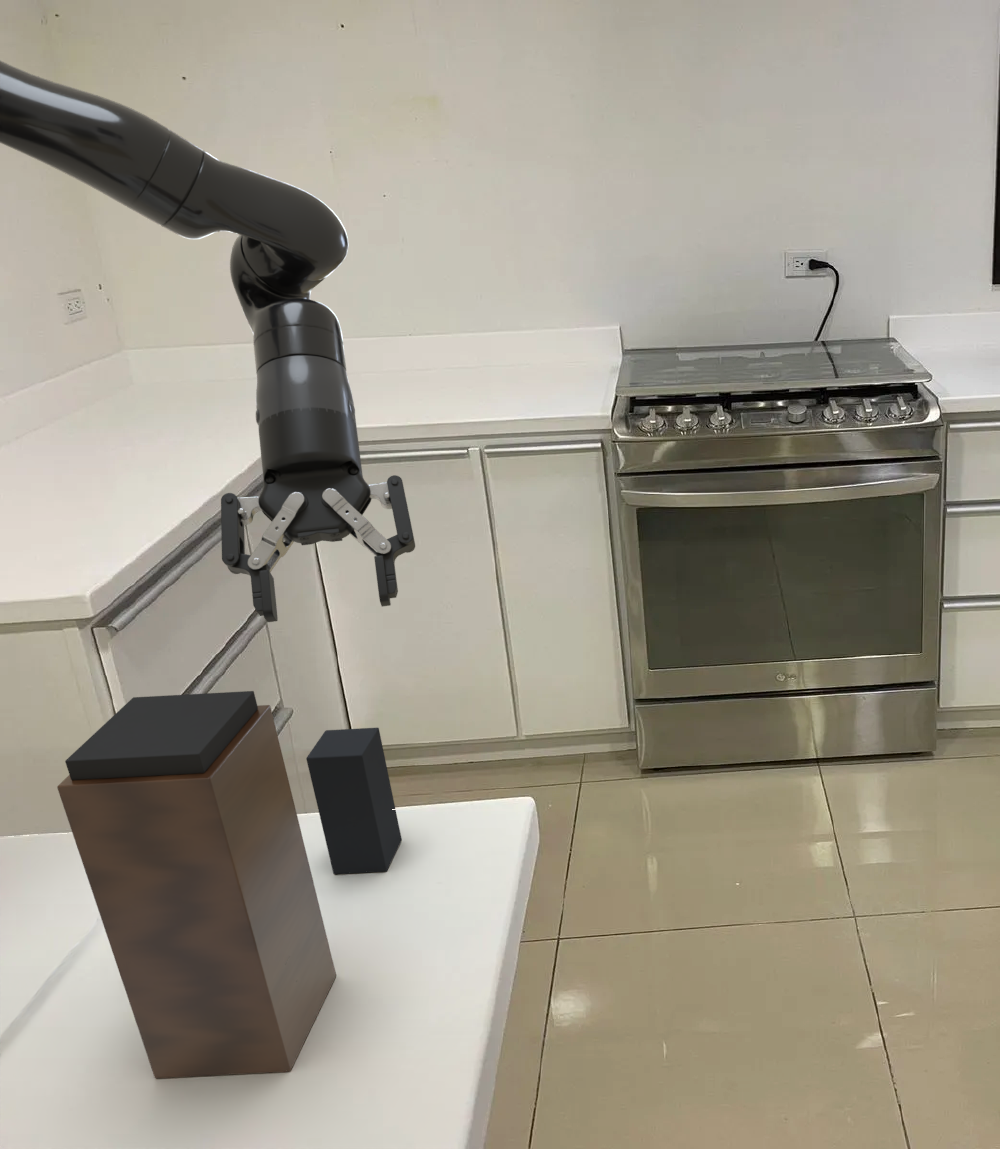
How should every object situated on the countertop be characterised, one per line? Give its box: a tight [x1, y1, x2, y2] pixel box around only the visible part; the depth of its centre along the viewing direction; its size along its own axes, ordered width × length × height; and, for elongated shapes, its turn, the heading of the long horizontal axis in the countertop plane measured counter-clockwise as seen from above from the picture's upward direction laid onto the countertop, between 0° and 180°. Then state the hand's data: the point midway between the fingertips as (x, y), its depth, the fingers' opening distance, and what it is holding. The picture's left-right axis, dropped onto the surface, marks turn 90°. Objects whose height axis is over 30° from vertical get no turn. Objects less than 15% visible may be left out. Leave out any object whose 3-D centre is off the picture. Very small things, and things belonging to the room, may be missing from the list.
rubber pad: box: [64, 690, 259, 780], centre depth 61 cm, size 7×7×1 cm
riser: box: [56, 704, 337, 1079], centre depth 65 cm, size 8×8×20 cm
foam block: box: [305, 727, 403, 875], centre depth 83 cm, size 4×4×10 cm
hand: (328, 611), depth 88 cm, fingers open, 8 cm apart
